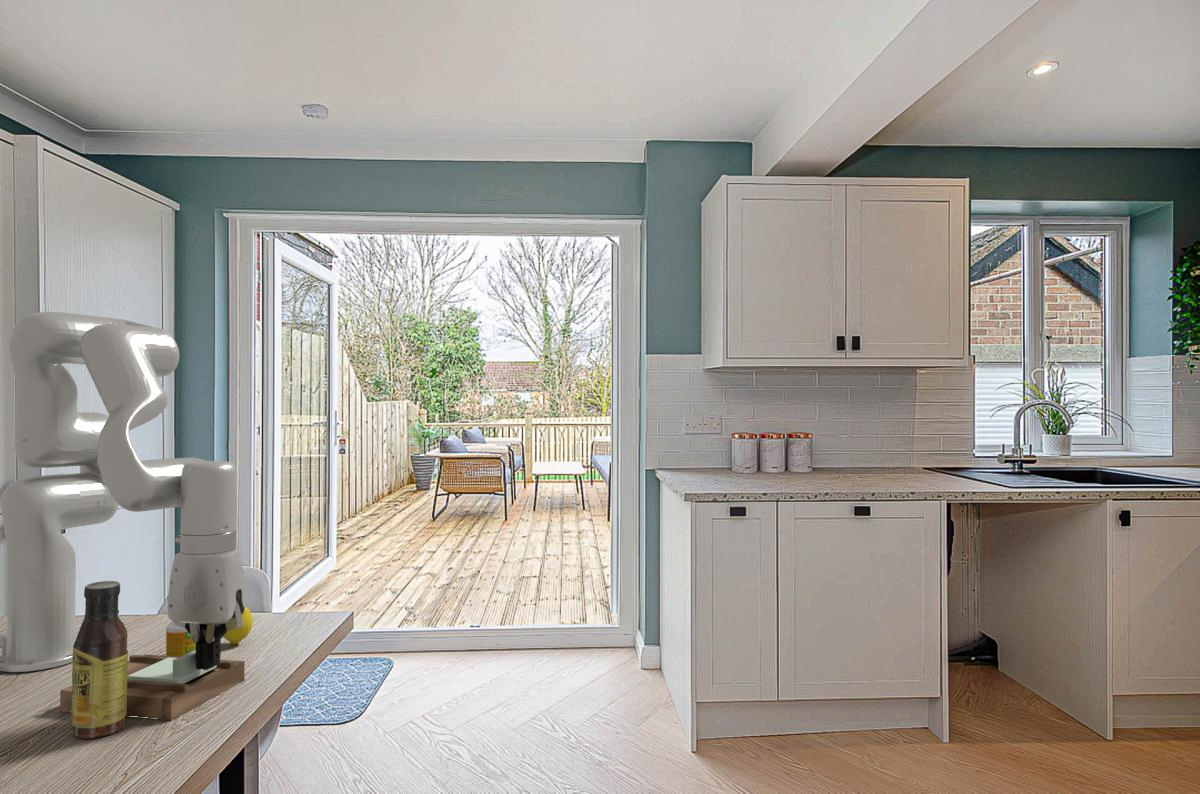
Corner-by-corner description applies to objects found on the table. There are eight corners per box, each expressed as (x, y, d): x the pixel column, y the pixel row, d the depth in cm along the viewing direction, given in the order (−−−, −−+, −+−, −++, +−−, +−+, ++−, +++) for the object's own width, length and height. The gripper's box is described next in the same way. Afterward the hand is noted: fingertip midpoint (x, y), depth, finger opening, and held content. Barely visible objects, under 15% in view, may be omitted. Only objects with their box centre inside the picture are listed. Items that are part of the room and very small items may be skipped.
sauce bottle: (66, 731, 103) (68, 583, 103) (120, 717, 107) (121, 575, 107) (77, 746, 98) (78, 591, 98) (132, 732, 103) (133, 583, 103)
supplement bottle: (186, 673, 125) (187, 613, 125) (158, 670, 126) (158, 611, 126) (209, 662, 130) (210, 605, 131) (182, 660, 132) (182, 603, 132)
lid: (126, 682, 112) (127, 658, 112) (168, 663, 120) (169, 641, 120) (177, 686, 110) (177, 662, 110) (216, 667, 119) (216, 644, 119)
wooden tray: (60, 711, 109) (60, 684, 109) (145, 672, 125) (145, 649, 125) (171, 720, 106) (171, 693, 106) (244, 680, 122) (244, 656, 122)
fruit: (230, 651, 136) (231, 606, 136) (212, 646, 139) (212, 602, 139) (258, 643, 141) (259, 599, 141) (240, 638, 144) (240, 595, 144)
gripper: (145, 546, 112) (144, 672, 112) (237, 550, 109) (236, 678, 109) (182, 538, 119) (181, 655, 119) (269, 541, 117) (268, 661, 117)
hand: (208, 666), depth 114 cm, fingers closed
